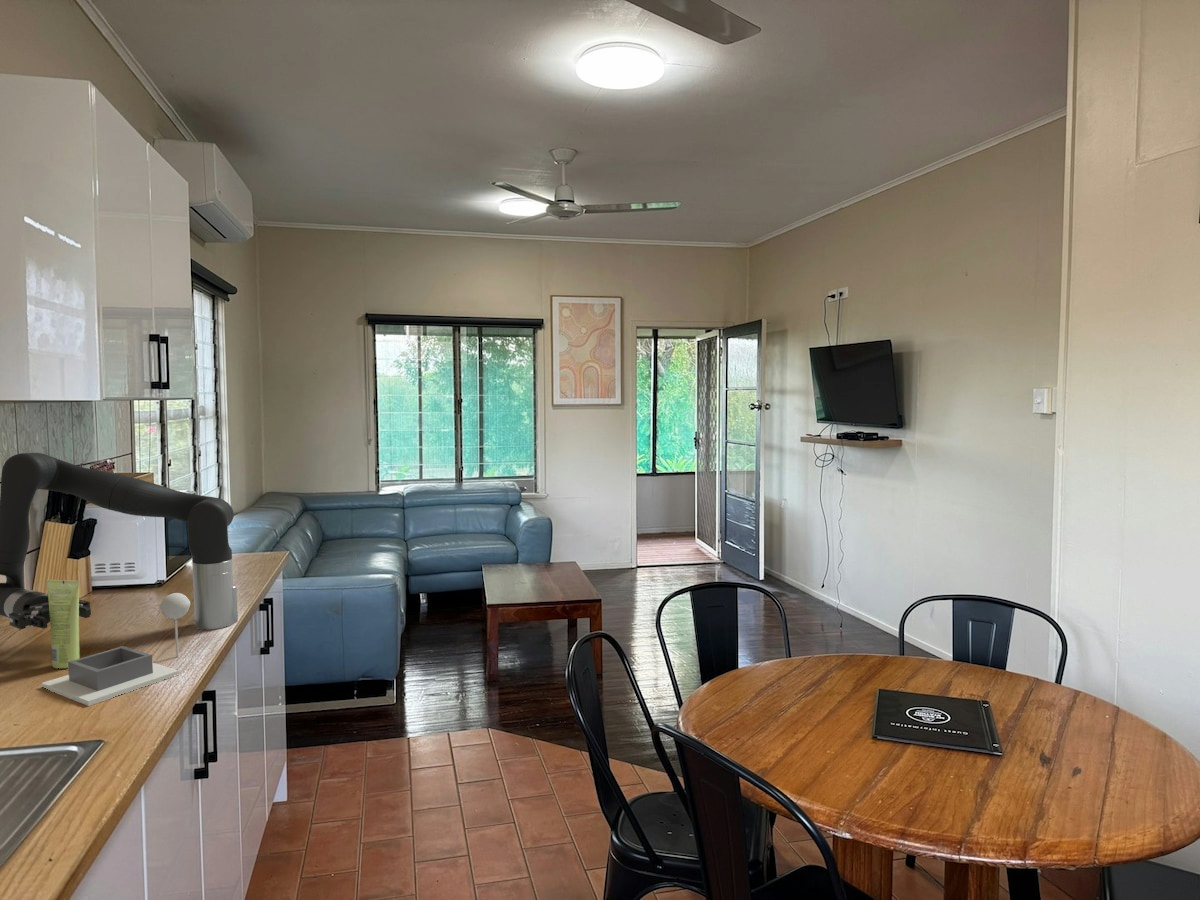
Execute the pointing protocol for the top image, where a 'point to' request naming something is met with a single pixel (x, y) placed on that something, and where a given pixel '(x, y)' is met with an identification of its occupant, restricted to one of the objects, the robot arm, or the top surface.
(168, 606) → the lollipop
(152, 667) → the socket
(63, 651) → the tube
